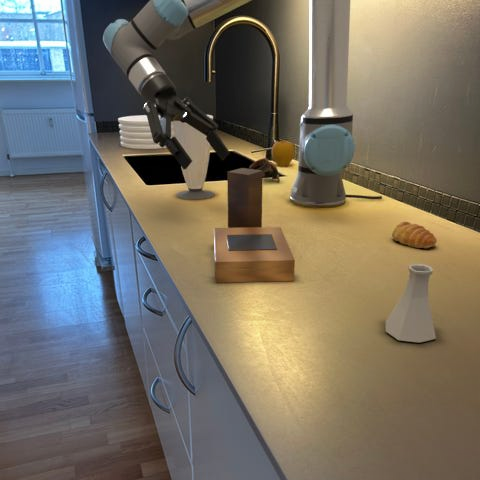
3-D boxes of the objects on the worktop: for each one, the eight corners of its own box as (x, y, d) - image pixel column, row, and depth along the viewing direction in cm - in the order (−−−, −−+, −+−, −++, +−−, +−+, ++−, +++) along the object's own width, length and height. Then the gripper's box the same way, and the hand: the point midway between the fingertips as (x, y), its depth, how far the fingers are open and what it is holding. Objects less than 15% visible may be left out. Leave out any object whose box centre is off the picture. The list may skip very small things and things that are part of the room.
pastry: (443, 246, 108) (446, 229, 106) (421, 252, 105) (424, 234, 103) (409, 235, 115) (411, 218, 113) (387, 240, 112) (389, 223, 110)
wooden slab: (279, 245, 109) (280, 225, 107) (293, 281, 91) (294, 259, 90) (214, 246, 109) (214, 227, 107) (215, 282, 91) (215, 260, 89)
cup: (201, 202, 142) (198, 119, 132) (168, 197, 147) (162, 116, 137) (222, 193, 151) (221, 115, 141) (190, 189, 156) (187, 113, 146)
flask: (377, 321, 77) (385, 259, 73) (423, 319, 78) (435, 257, 73) (394, 345, 71) (404, 278, 66) (444, 343, 71) (458, 276, 67)
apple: (272, 163, 195) (272, 138, 191) (294, 163, 194) (295, 139, 190) (270, 167, 188) (270, 142, 184) (293, 167, 187) (294, 142, 183)
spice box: (228, 235, 115) (227, 171, 109) (241, 229, 119) (241, 167, 113) (248, 239, 113) (248, 174, 106) (261, 233, 117) (262, 170, 110)
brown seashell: (282, 186, 162) (270, 164, 157) (255, 198, 165) (243, 177, 160) (282, 169, 170) (271, 147, 166) (257, 181, 174) (245, 160, 169)
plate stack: (111, 148, 229) (108, 120, 223) (133, 139, 253) (130, 114, 248) (171, 149, 224) (170, 121, 219) (188, 140, 249) (186, 115, 244)
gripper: (181, 94, 127) (230, 163, 126) (104, 100, 109) (161, 181, 108) (197, 71, 122) (248, 142, 121) (119, 73, 103) (179, 157, 103)
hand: (207, 160), depth 114 cm, fingers open, 13 cm apart
